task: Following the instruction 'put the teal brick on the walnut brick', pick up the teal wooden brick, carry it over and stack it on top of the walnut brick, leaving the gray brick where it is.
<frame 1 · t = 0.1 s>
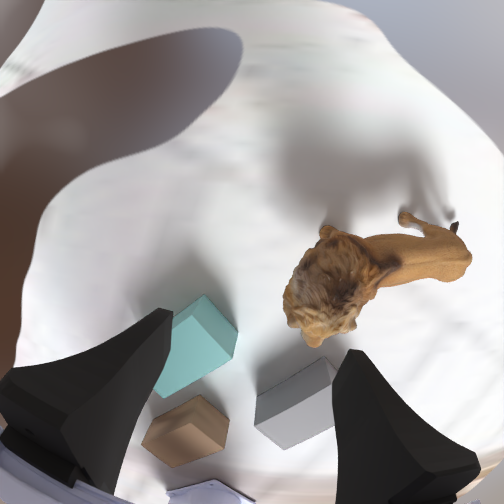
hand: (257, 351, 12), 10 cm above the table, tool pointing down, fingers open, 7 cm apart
gray brick: (302, 390, 24), on the table
teal brick: (189, 335, 23), on the table
lion figurine: (369, 251, 21), on the table
walnut brick: (189, 419, 26), on the table
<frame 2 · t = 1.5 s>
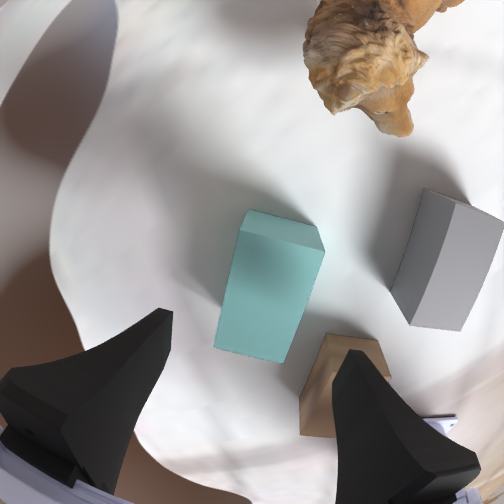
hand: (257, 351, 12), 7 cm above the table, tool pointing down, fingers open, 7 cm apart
gray brick: (432, 248, 17), on the table
teal brick: (268, 271, 19), on the table
lion figurine: (379, 38, 13), on the table
walnut brick: (336, 370, 21), on the table
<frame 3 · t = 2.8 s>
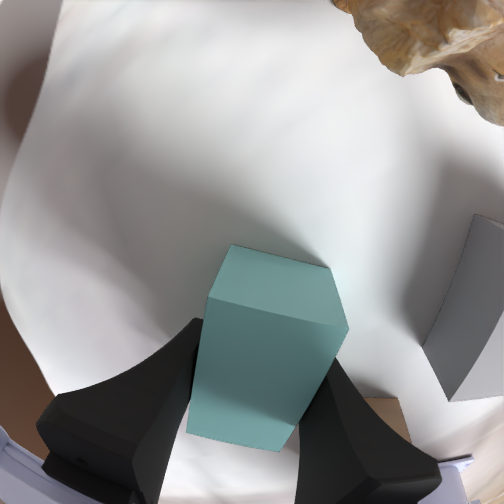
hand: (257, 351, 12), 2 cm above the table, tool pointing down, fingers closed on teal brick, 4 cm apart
gray brick: (476, 289, 12), on the table
teal brick: (260, 328, 13), on the table, touching gripper
walnut brick: (345, 430, 16), on the table
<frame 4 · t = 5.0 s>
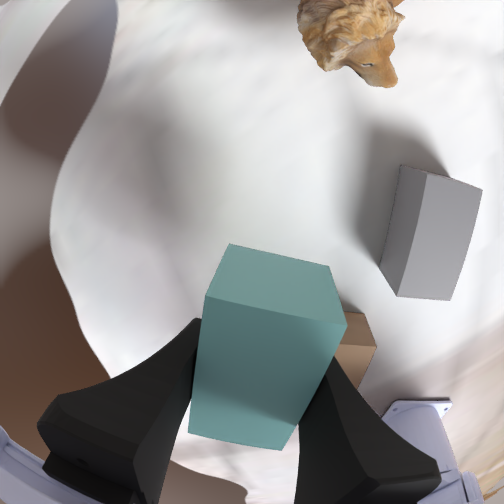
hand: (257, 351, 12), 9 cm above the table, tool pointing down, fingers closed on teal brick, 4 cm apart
gray brick: (415, 222, 18), on the table
teal brick: (260, 326, 13), point 7 cm above the table, touching gripper
lion figurine: (367, 17, 13), on the table
walnut brick: (326, 346, 22), on the table
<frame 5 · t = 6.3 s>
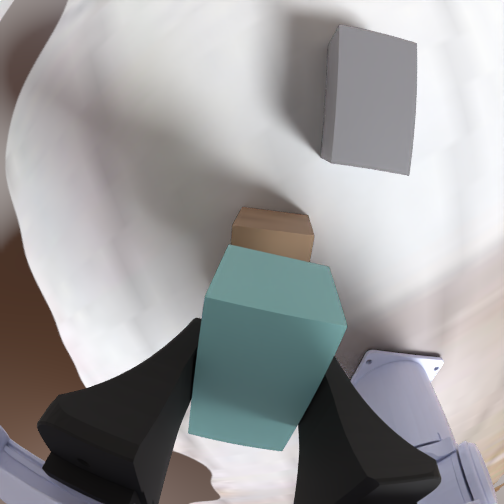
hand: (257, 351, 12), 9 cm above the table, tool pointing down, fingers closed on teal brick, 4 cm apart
gray brick: (357, 105, 15), on the table
teal brick: (260, 327, 13), point 7 cm above the table, touching gripper
walnut brick: (268, 262, 20), on the table
when the fingers open (6 cm above the table, at t = 7.1 s): teal brick stays where it is, point 4 cm above the table.
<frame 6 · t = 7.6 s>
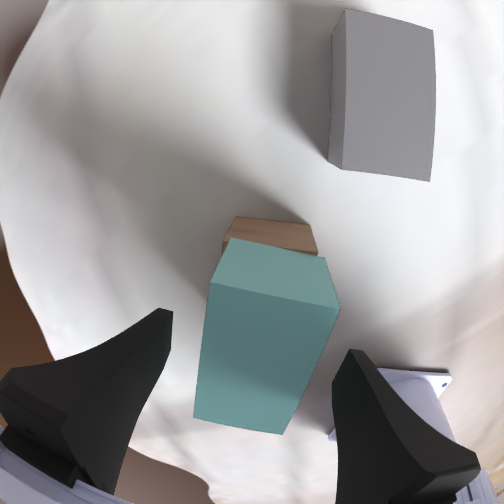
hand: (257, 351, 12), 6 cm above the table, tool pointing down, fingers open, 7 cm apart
gray brick: (367, 101, 13), on the table
teal brick: (261, 316, 14), point 4 cm above the table
walnut brick: (266, 278, 18), on the table
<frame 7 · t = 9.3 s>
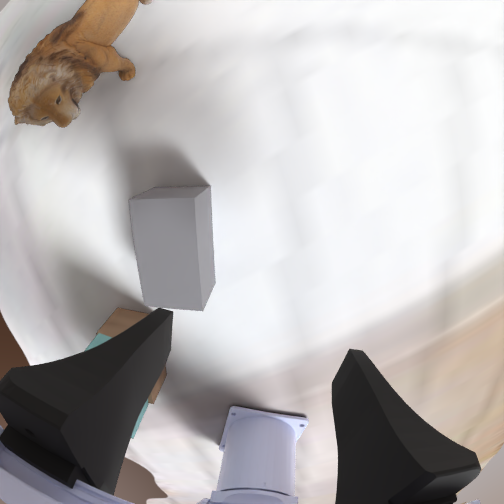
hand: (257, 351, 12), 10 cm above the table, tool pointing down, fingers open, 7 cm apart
gray brick: (185, 235, 21), on the table
teal brick: (124, 372, 21), point 4 cm above the table, touching walnut brick
lion figurine: (143, 40, 16), on the table
walnut brick: (143, 342, 25), on the table, touching teal brick
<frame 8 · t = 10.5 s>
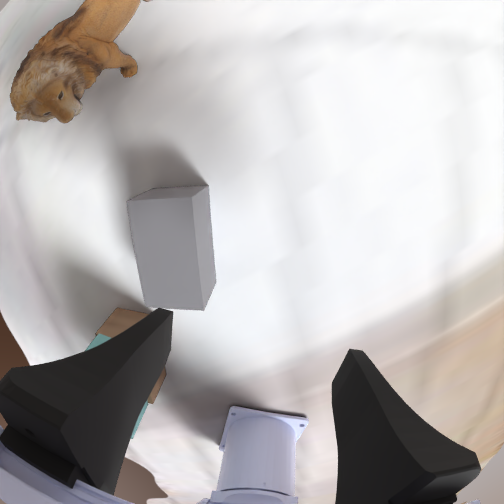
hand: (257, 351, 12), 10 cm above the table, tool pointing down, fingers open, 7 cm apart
gray brick: (185, 235, 21), on the table
lion figurine: (144, 37, 16), on the table
walnut brick: (142, 342, 25), on the table
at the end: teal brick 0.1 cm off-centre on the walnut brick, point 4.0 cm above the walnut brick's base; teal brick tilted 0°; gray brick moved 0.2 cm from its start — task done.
